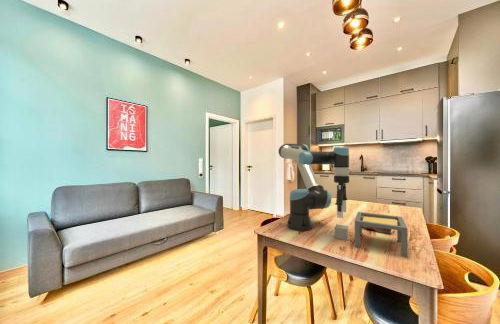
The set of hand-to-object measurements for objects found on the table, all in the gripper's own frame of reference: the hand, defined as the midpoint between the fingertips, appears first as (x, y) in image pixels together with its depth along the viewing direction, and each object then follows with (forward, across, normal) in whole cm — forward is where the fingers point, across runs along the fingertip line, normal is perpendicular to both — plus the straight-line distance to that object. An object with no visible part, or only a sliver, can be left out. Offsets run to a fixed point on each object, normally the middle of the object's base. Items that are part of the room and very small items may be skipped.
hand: (341, 214), depth 106 cm
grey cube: (+13, 0, 0) cm, 13 cm away
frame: (+12, +1, -17) cm, 21 cm away
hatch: (+2, +1, -17) cm, 17 cm away
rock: (+13, +24, -15) cm, 31 cm away
